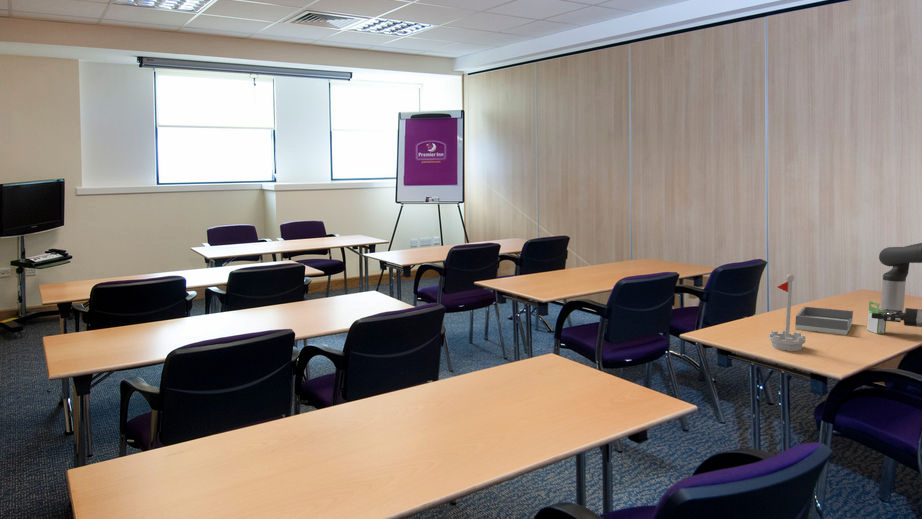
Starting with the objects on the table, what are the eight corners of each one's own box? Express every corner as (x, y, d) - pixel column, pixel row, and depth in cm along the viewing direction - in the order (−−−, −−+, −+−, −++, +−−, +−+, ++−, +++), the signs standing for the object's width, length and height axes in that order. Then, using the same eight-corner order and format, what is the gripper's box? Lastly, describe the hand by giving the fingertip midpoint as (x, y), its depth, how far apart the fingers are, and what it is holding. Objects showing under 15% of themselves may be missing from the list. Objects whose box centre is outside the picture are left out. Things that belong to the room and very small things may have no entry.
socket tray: (803, 318, 306) (804, 306, 305) (852, 323, 294) (852, 311, 293) (795, 329, 287) (795, 316, 286) (846, 334, 275) (847, 321, 274)
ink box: (885, 334, 275) (888, 303, 273) (876, 334, 275) (878, 303, 274) (875, 330, 282) (877, 300, 280) (866, 330, 282) (868, 300, 280)
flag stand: (793, 342, 265) (797, 271, 261) (811, 351, 252) (815, 276, 248) (762, 343, 264) (765, 271, 260) (779, 352, 252) (782, 277, 248)
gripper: (918, 306, 274) (874, 302, 284) (918, 312, 263) (871, 308, 273) (917, 323, 275) (872, 318, 285) (917, 330, 264) (870, 325, 274)
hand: (872, 313), depth 279 cm, fingers open, 8 cm apart
